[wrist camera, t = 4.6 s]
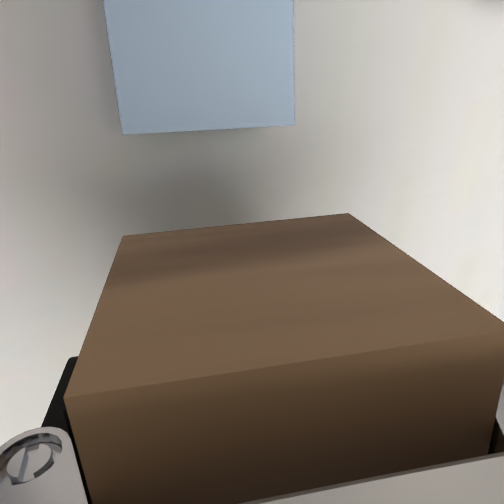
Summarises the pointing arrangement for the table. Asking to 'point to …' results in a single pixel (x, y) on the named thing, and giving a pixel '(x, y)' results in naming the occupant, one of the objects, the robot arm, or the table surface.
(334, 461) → the walnut block
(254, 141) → the table surface
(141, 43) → the blue carton
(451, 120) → the table surface
